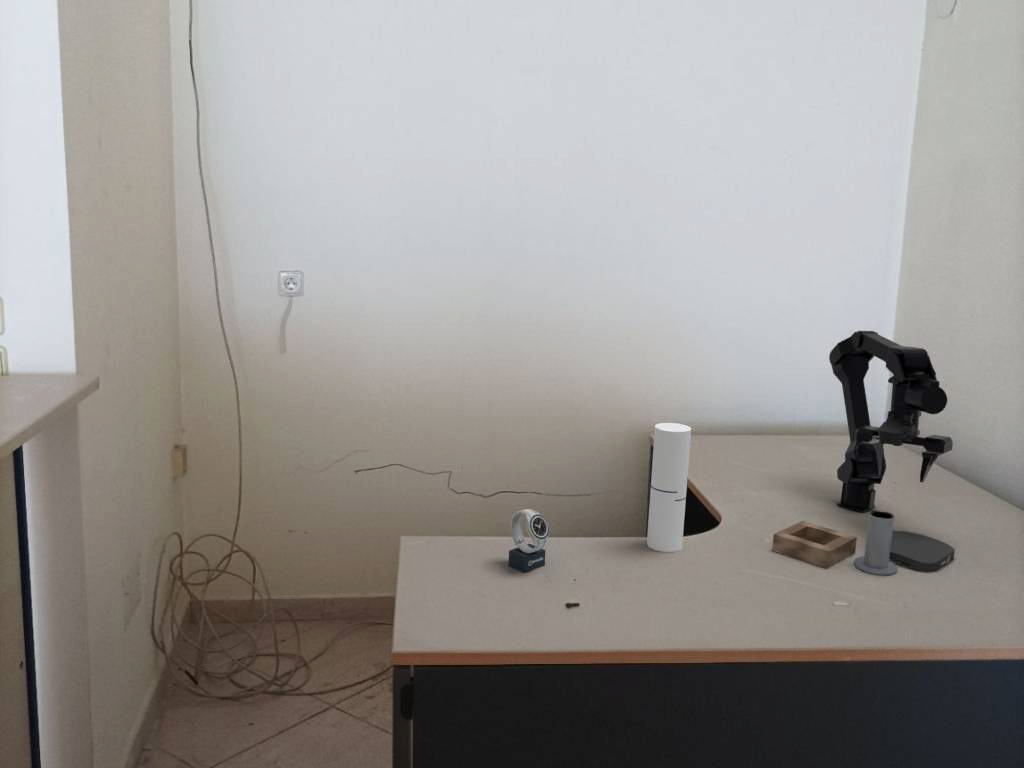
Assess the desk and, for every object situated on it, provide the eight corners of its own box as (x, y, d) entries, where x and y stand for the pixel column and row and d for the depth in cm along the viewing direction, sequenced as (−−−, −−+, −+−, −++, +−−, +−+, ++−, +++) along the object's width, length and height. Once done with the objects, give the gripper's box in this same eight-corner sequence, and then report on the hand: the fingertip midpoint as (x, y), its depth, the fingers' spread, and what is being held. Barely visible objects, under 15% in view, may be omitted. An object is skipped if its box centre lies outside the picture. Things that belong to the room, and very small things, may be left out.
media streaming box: (889, 537, 199) (891, 524, 198) (959, 558, 189) (961, 544, 188) (858, 554, 189) (860, 540, 188) (930, 577, 179) (932, 563, 178)
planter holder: (772, 550, 189) (773, 534, 188) (801, 536, 197) (802, 520, 196) (827, 568, 180) (829, 551, 180) (855, 553, 189) (857, 536, 188)
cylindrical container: (643, 538, 192) (651, 422, 187) (677, 538, 193) (685, 422, 188) (651, 552, 185) (659, 431, 180) (686, 552, 186) (695, 432, 181)
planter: (892, 568, 180) (899, 518, 178) (870, 569, 179) (877, 518, 177) (880, 559, 184) (886, 510, 182) (859, 559, 184) (865, 510, 182)
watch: (532, 576, 172) (534, 520, 170) (502, 563, 178) (504, 508, 175) (552, 568, 176) (555, 513, 174) (522, 555, 181) (524, 502, 179)
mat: (846, 566, 182) (846, 563, 182) (864, 556, 187) (864, 553, 187) (886, 579, 176) (886, 576, 176) (903, 568, 182) (904, 565, 182)
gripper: (846, 405, 197) (841, 476, 199) (937, 416, 185) (931, 492, 187) (867, 400, 205) (862, 469, 207) (956, 410, 193) (950, 483, 195)
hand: (899, 478), depth 199 cm, fingers open, 9 cm apart
